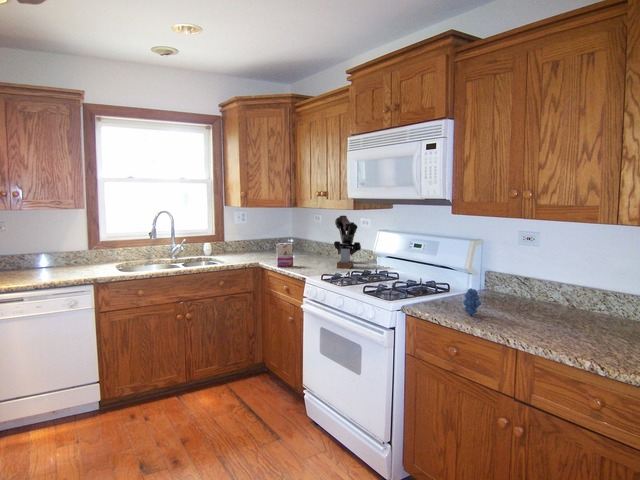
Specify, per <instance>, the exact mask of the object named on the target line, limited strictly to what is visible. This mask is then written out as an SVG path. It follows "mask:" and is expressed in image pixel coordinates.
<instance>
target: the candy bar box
mask: <svg viewBox="0 0 640 480" xmlns="http://www.w3.org/2000/svg"><path fill="white" fill-rule="evenodd" d="M276 267H277V268H287V267H288V268H289V267H294V244H293V243H292V242H286V243H285V242H283V243H276Z"/></svg>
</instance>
